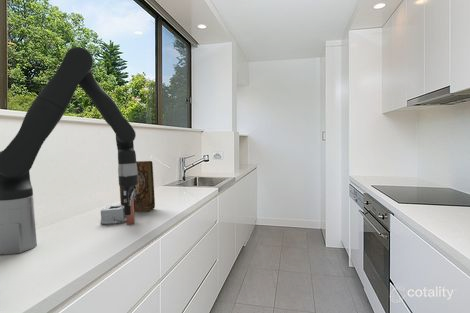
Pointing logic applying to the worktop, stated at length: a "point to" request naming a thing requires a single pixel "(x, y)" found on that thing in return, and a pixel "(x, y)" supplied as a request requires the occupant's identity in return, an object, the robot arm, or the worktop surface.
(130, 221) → the pin
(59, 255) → the worktop surface
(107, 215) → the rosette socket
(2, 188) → the robot arm
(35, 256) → the worktop surface
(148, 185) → the book
